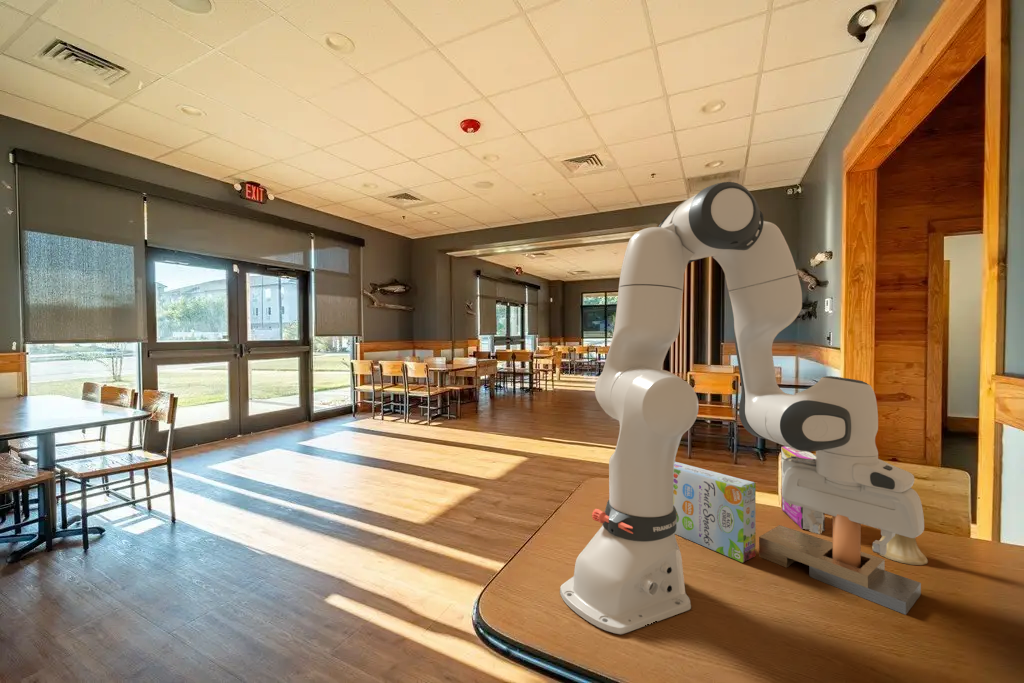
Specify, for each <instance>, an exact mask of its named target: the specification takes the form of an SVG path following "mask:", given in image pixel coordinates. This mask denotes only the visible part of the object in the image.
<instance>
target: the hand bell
mask: <svg viewBox="0 0 1024 683" xmlns="http://www.w3.org/2000/svg"><path fill="white" fill-rule="evenodd" d="M884 538H885V536H882V535H881V538H880V539H879V540H878V541H882V540H883V539H884ZM871 549H872V550H873V544H872V546H871ZM878 555H879V556H882V557H884V558H886V559H887V560H891V561H894V562H896V563H902V564H905V565H911V566H923V565H927V564H928V563H929V560H928V558H927V556H926V555H925V554H924V553H923V552H922V551H921V549H920V548H919V545H918V544H917V540H916V537H915V538H909V537H906V536H902V535H899V534H895V536H894V537H893V538H892V539H891V540H890V541H889V542H888V543H887V552H886V554H885V555H880V554H878Z"/></svg>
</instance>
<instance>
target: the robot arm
mask: <svg viewBox="0 0 1024 683" xmlns="http://www.w3.org/2000/svg"><path fill="white" fill-rule="evenodd" d="M710 257H712V258H713V259H714V260H715V261H716V262H717V263H718V264H719V266H720V267H721V268H722V271H723V273H724V276H725V282H726V288H727V290H728V295H729V299H730V302H731V303H730V304H731V308H732V315H733V337H734V338H733V340H734V346H735V352H736V359H737V366H738V373H739V379H740V386H741V392H740V393H741V394H740V400H739V405H738V407H739V408H738V414H739V415H738V416H739V419H740V422H741V425H742V426H743V428H744V429H745V430H746V431H747V432H748V433H750V434H751V435H752V436H754V437H757V438H760V439H763V440H767V441H770V442H774V443H776V444H779V445H781V446H783V447H790V448H792V449H795V450H799V451H807V452H815V456H816V460H812V459H806V458H799V457H797V456H791V457H788V458H786V459H785V460H784V461H783V473H784V474H785V475H784V479H783V486H782V485H781V498H782V497H783V499H784V500H785V502H787V503H789V504H793V505H796V506H800V507H803V514H804V516H805V517H806V519H807V521H808V522H809V523H810V530H809V532H810V533H813V534H816V535H819V536H820V535H821V534H822V532H823V531H822V523H819V522H817V520H816V518H815V516H814V515H813V513H814V512H815V511H818V512H821V513H824V515H829V516H831V517H832V516H837V514H838V515H841V516H845V517H848V518H849V520H850V521H853V522H856V523H860V524H861V525H865V526H867V527H870V528H871V527H872V528H874V529H877V530H880V535H881V537H882V536H885V538H884V539H883V540H882V541H879V540H877V539H875V540H874V541H873V542H872V545H873V549H872V553H874V554H878V555H879V554H880V555H879V556H881V555H885V554H886V552H887V543H888V542H889V541H890V540H891V539H892V538H893V537H894V536H895V534H899V535H902V536H906V537H909V538H915V539H916V538H917V537H919V536H921V535H922V533H924V531H925V519H924V518H925V517H924V510H923V504H922V500H921V498H920V496H919V494H918V493H917V491H916V490H915V489H913V488H912V487H913V485H914V483H915V476H914V474H912V473H911V472H910V471H908V470H906V469H905V470H904V469H903V468H901V467H898V466H896V465H893V464H891V463H888V462H886V461H884V460H882V459H880V458H879V451H878V448H877V444H876V436H877V433H878V431H879V413H878V403H877V398H876V394H875V391H874V389H873V387H872V385H871V384H869V383H867V382H866V381H863V380H859V379H854V378H846V377H840V376H831V375H830V376H828V375H827V376H822V377H821V378H820V379H819V380H818V381H817V382H816V383H814V384H813V385H812V386H810V387H808V388H805V389H804V390H802V391H798V392H795V393H794V394H793V393H788V392H787V393H786V392H784V391H783V390H782V389H781V388H780V387H779V385H778V383H777V382H778V381H777V377H776V370H775V364H774V356H773V343H774V340H775V338H776V337H777V336H778V334H779V333H780V332H782V331H783V330H784V329H786V328H787V327H788V326H790V325H791V324H792V323H793V322H794V321H795V320H796V319H797V317H798V315H799V314H800V312H801V310H802V308H803V292H802V286H801V281H800V278H799V275H798V271H797V267H796V263H795V261H794V258H793V255H792V252H791V250H790V247H789V245H788V243H787V241H786V239H785V236H784V235H783V233H782V231H781V229H780V227H778V226H777V225H776V224H775V223H773V222H770V221H766V220H765V219H764V214H763V212H762V211H761V209H760V207H759V204H758V202H757V200H756V198H755V196H754V195H753V194H752V193H751V191H750V190H749V189H748V188H746V187H745V186H743V185H742V184H740V183H737V182H734V181H733V182H732V181H724V182H722V181H721V182H718V183H714V184H711V185H709V186H707V187H705V188H703V189H702V190H700V191H699V192H698V193H695V194H694V195H693V196H691V197H690V198H687V199H685V200H684V201H682V202H681V203H680V204H679V205H678V206H676V208H675V209H673V210H672V211H671V212H670V213H668V214H666V216H665V217H664V218H663V220H662V221H661V222H660V223H659V225H658V226H649V227H647V228H646V227H645V228H643V229H640V230H639V231H637V232H635V233H633V235H632V236H631V237H630V238H629V240H628V243H627V245H626V248H625V252H624V257H623V260H622V265H621V269H620V275H619V282H618V290H617V291H618V293H617V302H616V312H615V318H614V319H615V320H614V328H613V334H612V338H611V342H610V344H609V345H610V346H609V349H608V352H607V355H606V359H605V362H604V365H603V369H602V372H601V373H600V375H599V376H598V377H597V379H596V381H595V386H594V395H595V399H596V400H597V402H598V404H599V406H600V407H601V409H602V410H603V411H604V412H605V414H606V415H608V416H609V417H611V418H612V419H614V420H617V421H618V423H619V433H618V437H617V441H616V446H615V449H614V452H613V453H612V455H610V458H609V462H608V476H609V477H608V479H609V480H608V488H609V489H608V490H609V493H608V494H609V499H608V500H607V501H606V505H605V510H604V511H603V510H601V509H599V508H594V509H593V510H592V513H591V514H592V515H591V517H592V518H591V519H593V520H594V521H595V522H599V523H600V524H601V526H600V528H599V529H598V530H597V532H596V533H595V534H594V535H593V537H592V538H591V539H590V541H589V542H588V543H587V544H586V545H585V547H584V548H583V550H581V552H580V553H579V554H578V556H577V557H576V559H575V564H574V571H573V576H571V577H570V578H569V579H568V580H566V581H565V582H564V583H563V582H562V584H561V585H560V587H559V589H560V590H559V593H560V596H561V599H562V600H563V601H564V603H565V604H566V605H567V606H568V607H569V608H570V609H571V610H572V611H573V612H575V614H577V615H578V616H580V617H581V618H582V619H584V620H586V621H587V622H589V624H592V625H594V626H595V627H597V628H599V629H601V630H604V631H606V632H609V633H613V634H617V635H624V634H627V633H630V632H632V631H635V630H638V629H641V628H643V627H646V626H648V625H647V624H649V625H651V623H652V624H654V623H653V622H655V621H657V622H660V621H662V620H665V619H669V618H671V617H673V616H675V615H676V616H677V615H678V614H682V613H684V612H688V611H690V610H691V609H692V605H691V599H690V597H689V596H688V595H687V593H686V587H685V577H684V570H683V569H684V568H683V559H682V558H683V557H682V553H681V552H682V551H681V550H680V547H679V545H678V542H677V539H676V534H675V531H676V529H677V527H676V523H677V516H676V508H675V507H674V505H673V486H674V463H675V462H676V458H677V457H676V456H677V453H678V448H679V446H680V443H681V440H682V437H683V435H684V434H685V433H686V432H687V431H689V429H691V427H693V425H694V424H695V422H696V420H697V417H698V415H699V398H698V395H697V393H696V391H695V388H693V386H692V385H690V383H689V382H688V381H686V380H684V379H682V378H681V377H679V376H678V375H676V374H675V373H672V372H671V371H668V370H665V369H663V365H664V361H665V359H666V356H667V354H668V351H669V350H670V348H671V346H672V345H673V344H674V342H675V341H676V340H677V338H678V336H679V333H680V326H681V315H682V304H683V293H684V285H685V283H684V282H685V280H684V279H685V272H686V269H687V266H688V264H689V263H693V262H695V261H698V260H701V259H704V258H710ZM790 459H791V461H790ZM655 623H656V622H655ZM645 625H646V626H645Z"/></svg>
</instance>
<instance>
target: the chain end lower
mask: <svg viewBox="0 0 1024 683" xmlns="http://www.w3.org/2000/svg"><path fill="white" fill-rule="evenodd" d="M832 559H833V558H832ZM808 566H809V565H808ZM808 568H809V570H808V571H809V574H808V575H809V576H808V577H809V578H812V579H814V580H817V581H818V582H819V581H820V582H822V583H824V584H827V585H830V586H833V587H834V588H837V589H839V590H841V591H845V592H847V593H850V594H852V595H855V596H857V597H860V598H862V599H865V600H866V601H867V600H868V601H870V602H872V603H875V604H878V605H879V606H883V607H885V608H888V609H890V610H892V611H895V612H898V613H899V614H900V613H901V614H903V615H905V616H907V614H908V613H909V611H911V609H912V608H913V606H914V605H915V603H916V602H917V600H918V599H919V598H920V596H921V595H922V583H921V582H919V581H916V580H914V579H911V578H908V577H904V576H902V575H899V574H895V573H893V572H890V571H887V570H885V571H884V572H883V573H882V574H881V575H880V576H879V577H878V578H877V579H876V580H875V581H874V582H873V583H872V584H871V585H870V586H869V587H868V588H867V587H864V586H861V585H859V584H856V583H853V582H851V581H848V580H845V579H843V578H840V577H838V576H835V575H832V574H830V573H827V572H824V571H822V570H819V569H816V568H814V567H811V566H809V567H808Z"/></svg>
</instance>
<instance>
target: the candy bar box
mask: <svg viewBox="0 0 1024 683" xmlns="http://www.w3.org/2000/svg"><path fill="white" fill-rule="evenodd" d="M780 452H781V453H780V455H781V456H780V457H781V461H780V462H781V464H780V465H781V487H782V486H783V479H784V475H785V474H784V473H783V461H784V460H785V459H786V458H788V457H791V456H797V457H799V458H806V459H812V460H816V454H814V453H812V452H811V451H809V452H807V451H799V450H795V449H792V448H790V447H787V446H781V448H780ZM790 461H791V459H790ZM781 510H782V511H783V512H784V513H785V514H786V515H787V516H788V517H789V518H790V519H791V520H792V521H793V522H794V523H795V524H796V525H798V527H799V528H800V529H801V530H803V529H805V530H806V531H810V523H809V522H808V521H807V519H806V517H805V516H804V514H803V507H800V506H796V505H793V504H789V503H787V502H785V500H784V499H783V497H782V496H781ZM813 515H814V516H815V518H816V520H817V522H819V523H822V532H825V531H826V530H825V529H826V528H825V526H826V525H825V524H826V523H825V518H826V517H825V513H821V512H818V511H815V512H814V513H813ZM805 530H804V531H805Z"/></svg>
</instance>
